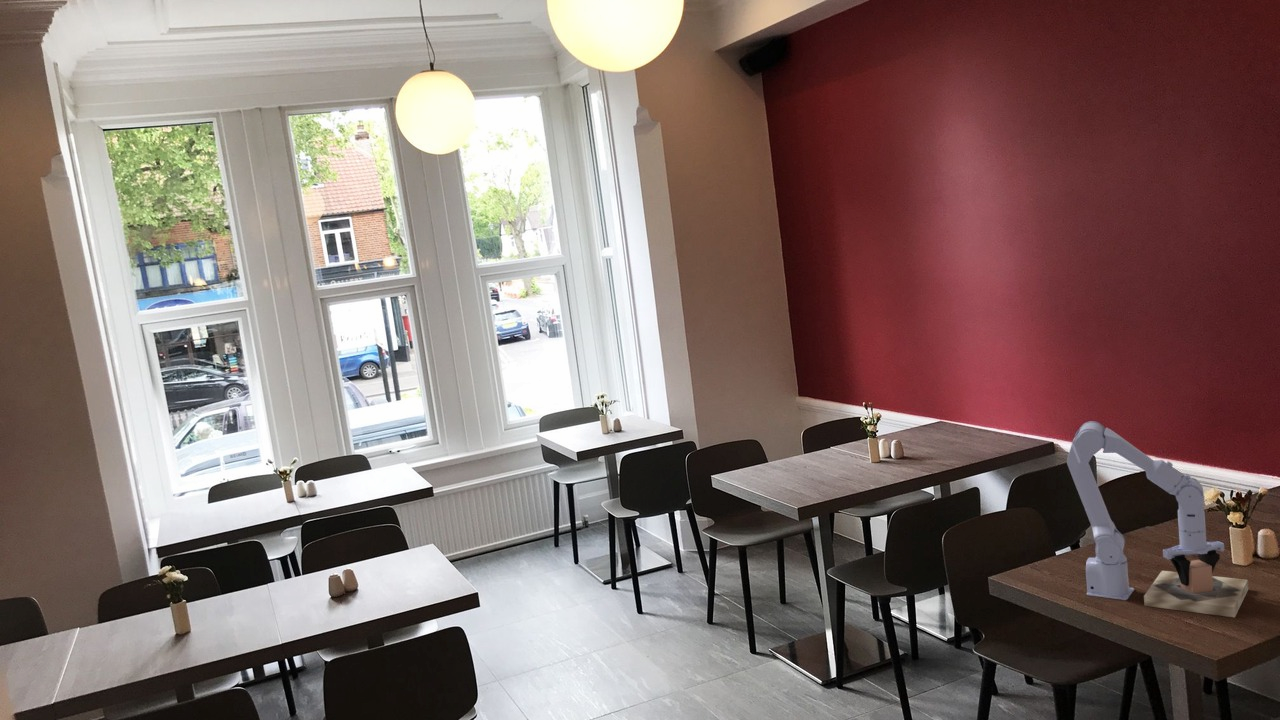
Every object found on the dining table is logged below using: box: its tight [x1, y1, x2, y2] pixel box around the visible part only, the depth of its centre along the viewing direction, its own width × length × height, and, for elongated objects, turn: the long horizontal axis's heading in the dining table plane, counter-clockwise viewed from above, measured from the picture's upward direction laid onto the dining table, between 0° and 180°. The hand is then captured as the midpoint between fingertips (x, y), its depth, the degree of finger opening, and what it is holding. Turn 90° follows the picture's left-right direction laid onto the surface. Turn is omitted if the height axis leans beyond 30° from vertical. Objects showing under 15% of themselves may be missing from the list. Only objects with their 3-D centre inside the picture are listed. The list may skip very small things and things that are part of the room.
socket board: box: [1143, 570, 1249, 618], centre depth 234 cm, size 19×19×2 cm
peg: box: [1180, 559, 1213, 594], centre depth 234 cm, size 5×5×8 cm
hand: (1195, 582), depth 234 cm, fingers closed on peg, 5 cm apart
